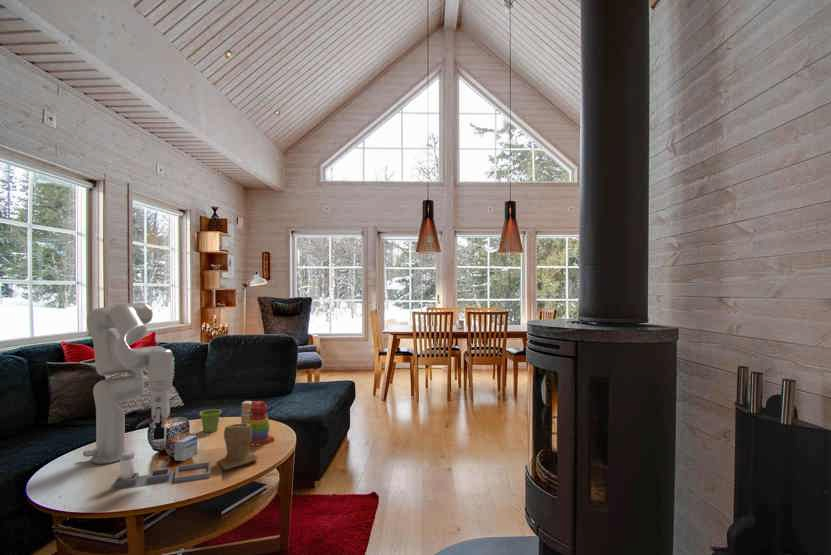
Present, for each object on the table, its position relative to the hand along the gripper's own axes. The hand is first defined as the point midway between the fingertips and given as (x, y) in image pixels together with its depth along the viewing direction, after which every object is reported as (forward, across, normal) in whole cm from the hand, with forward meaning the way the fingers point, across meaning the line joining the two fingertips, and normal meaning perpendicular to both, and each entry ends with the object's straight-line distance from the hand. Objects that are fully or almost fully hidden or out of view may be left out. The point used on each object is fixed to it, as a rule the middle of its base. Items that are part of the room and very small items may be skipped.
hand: (159, 436), depth 166 cm
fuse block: (+16, 0, +5) cm, 17 cm away
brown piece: (+16, +8, -25) cm, 31 cm away
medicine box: (+16, +19, -7) cm, 26 cm away
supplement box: (+17, +50, -33) cm, 62 cm away
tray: (+16, 0, -11) cm, 19 cm away
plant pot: (+17, +56, -15) cm, 60 cm away
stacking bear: (+16, +31, -35) cm, 50 cm away
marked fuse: (+3, 0, 0) cm, 3 cm away
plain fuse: (+15, 0, +10) cm, 18 cm away
